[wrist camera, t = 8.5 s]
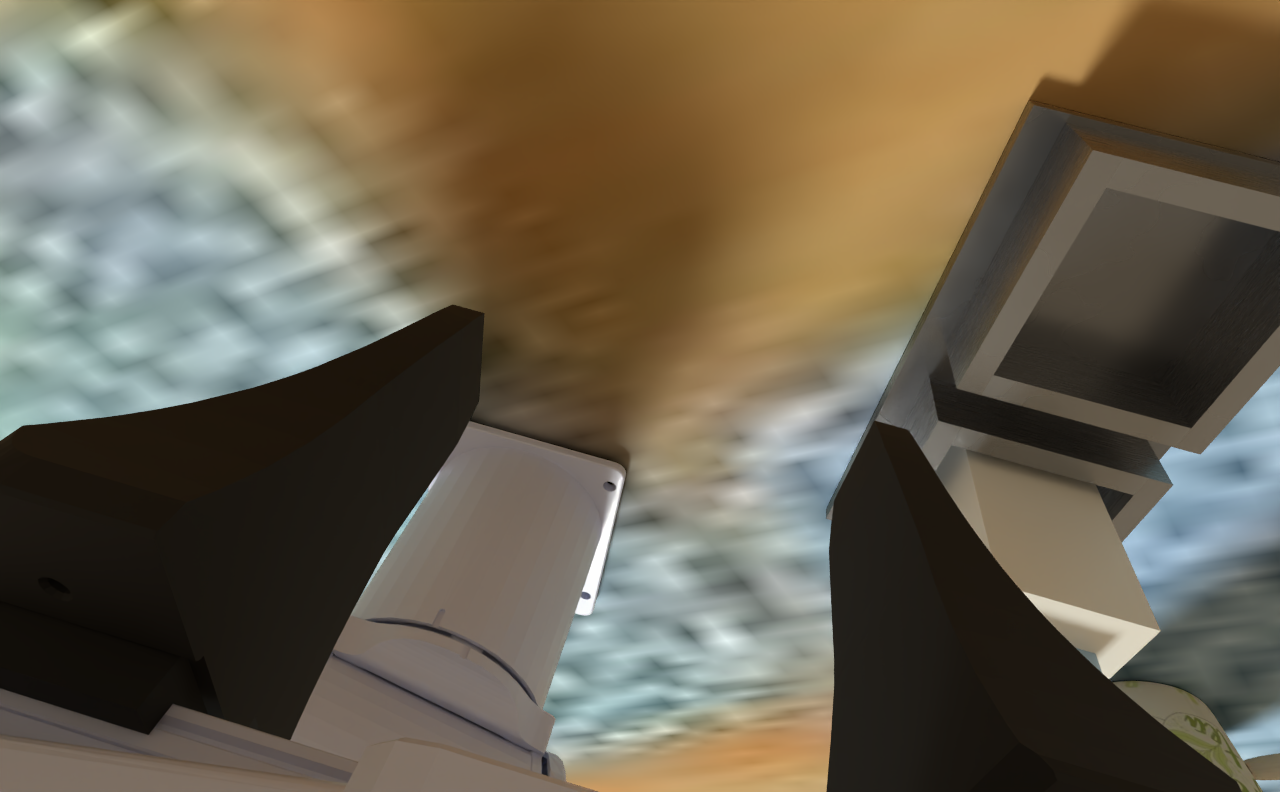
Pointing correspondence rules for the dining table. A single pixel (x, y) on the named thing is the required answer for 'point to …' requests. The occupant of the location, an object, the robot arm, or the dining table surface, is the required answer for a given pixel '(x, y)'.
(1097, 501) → the plug
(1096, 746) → the robot arm
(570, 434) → the dining table surface
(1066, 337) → the panel
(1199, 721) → the mug
